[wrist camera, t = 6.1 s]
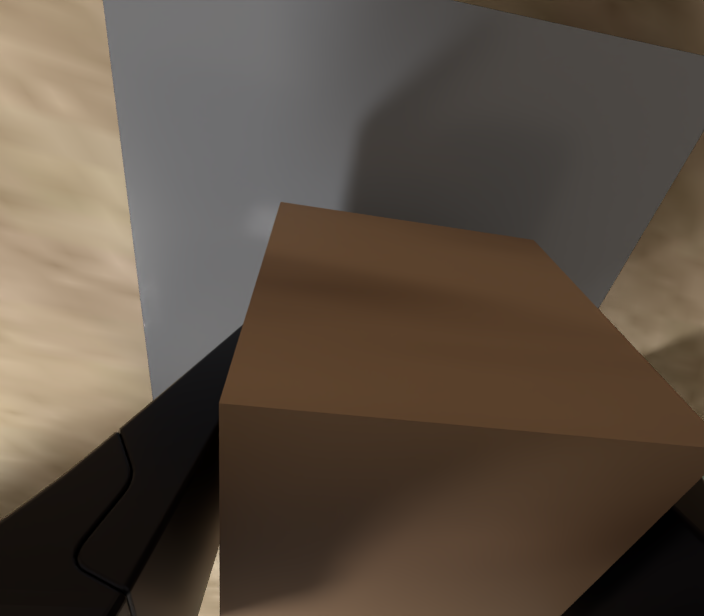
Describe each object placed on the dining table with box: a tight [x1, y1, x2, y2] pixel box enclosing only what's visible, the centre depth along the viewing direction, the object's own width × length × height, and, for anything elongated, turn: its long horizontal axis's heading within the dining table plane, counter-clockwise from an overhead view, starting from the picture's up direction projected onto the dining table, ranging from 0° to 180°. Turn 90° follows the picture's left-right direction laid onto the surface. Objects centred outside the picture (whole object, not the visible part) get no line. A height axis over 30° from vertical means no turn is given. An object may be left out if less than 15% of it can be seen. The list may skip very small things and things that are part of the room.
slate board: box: [103, 0, 704, 400], centre depth 11 cm, size 12×12×2 cm
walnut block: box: [219, 202, 704, 616], centre depth 7 cm, size 5×5×5 cm
